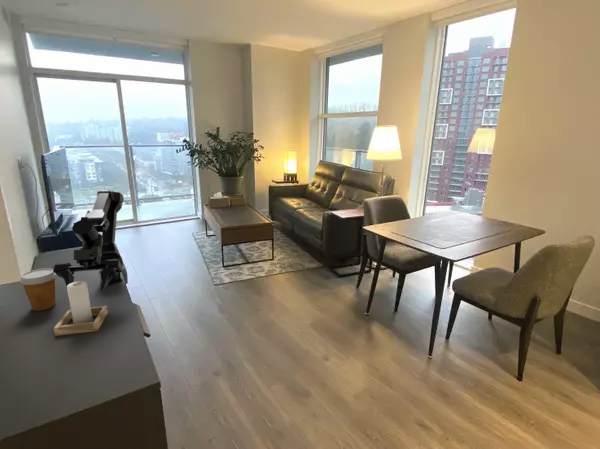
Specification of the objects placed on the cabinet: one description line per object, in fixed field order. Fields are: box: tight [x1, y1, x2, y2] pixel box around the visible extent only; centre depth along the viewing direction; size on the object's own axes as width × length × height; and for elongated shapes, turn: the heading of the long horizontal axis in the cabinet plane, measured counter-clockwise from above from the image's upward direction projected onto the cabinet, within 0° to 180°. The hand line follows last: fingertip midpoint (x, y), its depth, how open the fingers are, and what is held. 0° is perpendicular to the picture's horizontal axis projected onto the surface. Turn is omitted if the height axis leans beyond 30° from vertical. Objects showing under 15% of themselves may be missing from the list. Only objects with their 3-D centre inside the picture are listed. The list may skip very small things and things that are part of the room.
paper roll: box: [66, 280, 94, 324], centre depth 101 cm, size 5×5×13 cm
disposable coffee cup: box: [19, 268, 57, 312], centre depth 111 cm, size 10×10×12 cm
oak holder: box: [53, 305, 109, 337], centre depth 102 cm, size 11×11×2 cm
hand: (86, 292), depth 106 cm, fingers open, 9 cm apart
